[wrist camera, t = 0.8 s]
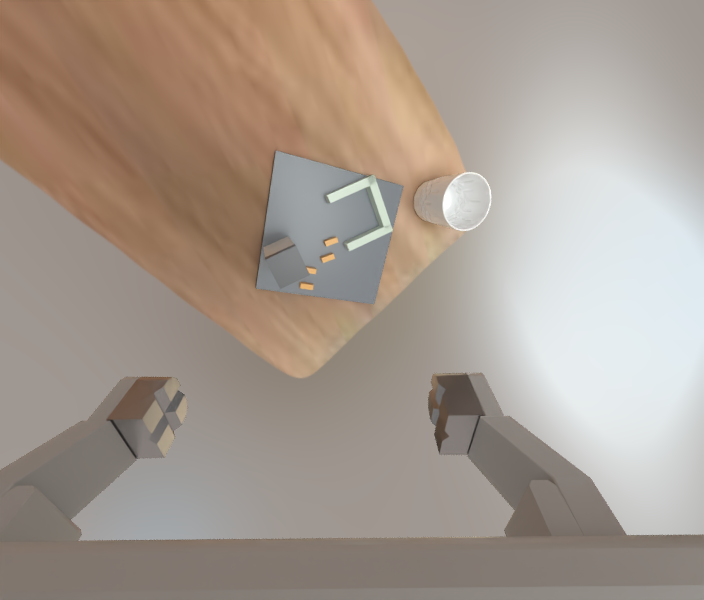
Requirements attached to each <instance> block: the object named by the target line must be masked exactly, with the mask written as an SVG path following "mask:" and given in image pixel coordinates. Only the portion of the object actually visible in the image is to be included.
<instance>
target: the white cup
mask: <svg viewBox="0 0 704 600" xmlns="http://www.w3.org/2000/svg"><path fill="white" fill-rule="evenodd" d="M490 205H491V190H490V186H489V184H488V182H487V181H486V179H485V178H484V177H482V176H481V175H480V174H478V173H475V172H466V173H460V174H454V175H449V176H444V177H440V178H436V179H432V180H429V181H426V182H424V183H423V184H422V185H421V186H420V187H419V188H418V189H417V191H416V194H415V196H414V209H415V211H416V214H417V215H418V216H419V217H420V218H421V219H422V220H424V221H428V222H431V223H433V224H436V225H440V226H443V227H447V228H451V229H455V230H459V231H468V230H471V229H473V228H475V227H477V226H478V225H479V224H480V223H481V222H482V221H483V220H484V219H485V217H486V216H487V214H488V212H489V209H490Z"/></svg>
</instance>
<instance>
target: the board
mask: <svg viewBox="0 0 704 600" xmlns="http://www.w3.org/2000/svg"><path fill="white" fill-rule="evenodd" d="M365 177H367V176H366V175H362V174H358V173H355V172H351V171H348V170H344V169H341V168H337V167H333V166H330V165H326V164H323V163H319V162H315V161H312V160H308V159H305V158H301V157H297V156H294V155H290V154H287V153H283V152H280V151H276V152H275V159H274V165H273V172H272V179H271V186H270V193H269V200H268V207H267V214H266V221H265V228H264V235H263V241H262V248H261V255H260V262H259V269H258V276H257V283H256V289H263V290H271V291H278V292H286V293H293V294H301V295H308V296H316V297H324V298H331V299H339V300H346V301H354V302H362V303H369V304H374V303H375V299H376V295H377V291H378V287H379V283H380V279H381V275H382V271H383V267H384V263H385V259H386V255H387V251H388V247H389V243H390V238H391V234H392V232H390V233H387V234H385V235H383V236H381V237H379V238H377V239H375V240H373V241H370V242H368V243H366V244H364V245H362V246H360V247H358V248H356V249H353V250H351V251H348V250H347V249H346V247H345V245H344V242H345V241H348V240H350V239H352V238H354V237H356V236H358V235H360V234H363V233H365V232H367V231H369V230H371V229H373V228H375V227H378V226H379V223H378V221H377V218H376V215H375V212H374V209H373V206H372V203H371V200H370V198H369V195H368V192H367V189H366V188H364V189H361V190H359V191H357V192H355V193H352V194H350V195H348V196H346V197H343V198H341V199H339V200H337V201H334V202H332V203H327V200H326V198H325V195H326V194H328V193H331V192H333V191H335V190H337V189H340V188H342V187H344V186H346V185H349V184H351V183H353V182H356V181H358V180H360V179H362V178H365ZM376 181H377V184H378V187H379V190H380V193H381V196H382V199H383V202H384V205H385V208H386V211H387V214H388V217H389V220H390V223H391V226H392V229H393V226H394V222H395V218H396V214H397V210H398V206H399V202H400V198H401V194H402V190H403V186H402V185H398V184H394V183H391V182H387V181H384V180H380V179H376ZM287 236H288V237H289V238H290V239H291V241H292V242H293V243H294V244H295V245H296V246H297V249H298V251H299V253H300V255H301V257H302V259H303V261H304V263H305V266H306V268H307V270H308V272H309V274H310V275H309V276H307V277H305V278H303V279H301V280H299V281H296V282H294V283H292V284H290V285H288V286H286V287H284V288H282V289H280V288H279V286H278V284H277V282H276V280H275V278H274V276H273V274H272V272H271V270H270V269H269V267H268V265H267V263H266V261H265V254H264V248H263V247H265V246H267V245H270V244H272V243H274V242H276V241H278V240H281V239H283V238H285V237H287Z"/></svg>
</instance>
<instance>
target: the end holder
mask: <svg viewBox="0 0 704 600" xmlns="http://www.w3.org/2000/svg"><path fill="white" fill-rule="evenodd" d="M364 188H366V189H367V192H368V195H369V198H370V200H371V203H372V206H373V209H374V212H375V215H376V218H377V221H378V223H379V226H378V227H375V228H373V229H371V230H369V231H367V232H365V233H363V234H360V235H358V236H356V237H354V238H352V239H350V240H348V241H345V242H344V245H345V247H346V249H347V250H348V251H351V250H353V249H356V248H358V247H360V246H362V245H364V244H366V243H368V242H370V241H373V240H375V239H377V238H379V237H381V236H383V235H385V234H387V233H390V232H392V231H393V229H392V226H391V223H390V220H389V217H388V214H387V211H386V208H385V205H384V202H383V199H382V196H381V193H380V190H379V187H378V184H377V181H376V178H375V175H369V176H367V177H365V178H362V179H360V180H358V181H356V182H353V183H351V184H349V185H346V186H344V187H342V188H340V189H337V190H335V191H333V192H331V193H328V194H326V195H325V198H326V200H327V203H332V202H334V201H337V200H339V199H341V198H343V197H346V196H348V195H350V194H352V193H355V192H357V191H359V190H361V189H364Z"/></svg>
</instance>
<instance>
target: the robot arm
mask: <svg viewBox="0 0 704 600" xmlns="http://www.w3.org/2000/svg"><path fill="white" fill-rule="evenodd" d="M431 384H432V388H433V389H432V390H431V391H430V392H429V397H428V409H429V415H430V420H431V422H432V423H433V424H434V425H435V426H436V428H435V433H434V436H435V440H436V443H437V447H438V451H439V454H440V455H468V458H469V459H470V460H471V461H472V462H473V463H474V465H475V466H476V467H477V468H478V469H479V470H480V471H481V472H482V474H483V475H484V476H485V477H486V478H487V479H488V480H489V482H490V483H491V484H492V485H493V486H494V487H495V488H496V490H497V491H498V492H499V493H500V494H501V495H502V497H504V499H505V500H506V501H507V502H508V503H509V505H510V506H511V507H512V508H513V509H514V510H515V511H514V513H513V515H512V517H511V519H510V520H509V522H508V524H507V526H506V528H505V530H504V531H505V534H506V537H415V538H414V537H411V538H410V537H407V538H306V539H305V538H303V539H202V540H201V539H200V540H198V539H197V540H104V541H103V540H102V541H101V540H98V541H78V540H79V538H80V537H81V535H82V534H81V529H80V528H79V527H77V526H76V525H75V524H74V523H73V522H72V521H71V519H72V518H73V517H75V516H76V515H77V514H78V513H79V512H80V511H81V510H82V509H83V508H84V507H86V506H87V505H88V504H89V503H90V502H91V501H92V500H93V499H94V498H95V497H97V495H99V494H100V493H101V492H102V491H103V490H104V489H105V488H106V487H107V486H109V485H110V484H111V483H112V482H113V481H114V480H115V479H116V478H117V477H119V476H120V475H121V474H122V473H123V472H124V471H125V470H126V469H127V468H128V467H129V466H131V465H132V464H133V463H134V462H135V461H136V459H140V458H164V457H165V455H166V454H167V452H168V450H169V448H170V446H171V445H172V443H173V441H174V439H175V434H174V430H176V429H177V428H178V427H179V426H181V425H182V423H183V421H184V419H185V417H186V413H187V409H188V405H187V399H186V396H185V395H184V394H183V393H181V392H180V391H178V389H179V387H180V383H179V381H178V379H177V378H174V377H125V378H123V379H122V380H120V381H119V382H118V384H117V385H116V386H115V387H114V388H113V390H112V391H111V392H110V393H109V394H108V396H107V397H106V398H105V399H104V401H103V402H102V403H101V404H100V405H99V407H98V408H97V409H96V410H95V411H94V413H93V414H92V415H91V416H90V417H89V419H88V420H87V421H80V422H79V423H77V424H75V425H74V426H72V427H70V428H69V429H67V430H66V431H64V432H62V433H61V434H59V435H57V436H56V437H54V438H52V439H51V440H49V441H47V442H46V443H44V444H42V445H41V446H39V447H38V448H36V449H34V450H33V451H31V452H29V453H28V454H26V455H24V456H23V457H21V458H19V459H18V460H16V461H14V462H13V463H11V464H9V465H8V466H6V467H4V468H3V469H1V470H0V600H704V535H626V533H625V531H624V530H623V528H622V527H621V525H620V524H619V522H618V520H617V519H616V517H615V516H614V514H613V513H612V511H611V510H610V508H609V506H608V505H607V503H606V501H605V500H604V498H603V497H602V495H601V494H600V492H599V491H598V489H597V487H596V486H595V484H594V483H593V481H592V479H591V478H590V477H588V476H587V475H586V474H584V473H583V472H582V471H581V470H579V469H578V468H576V467H575V466H574V465H572V464H571V463H570V462H569V461H567V460H566V459H565V458H563V457H562V456H561V455H560V454H558V453H557V452H556V451H554V450H553V449H552V448H550V447H549V446H548V445H547V444H545V443H544V442H543V441H541V440H540V439H539V438H537V437H536V436H535V435H534V434H532V433H531V432H530V431H528V430H527V429H526V428H524V427H523V426H522V425H520V424H519V423H518V422H517V421H515V420H514V419H513V418H511V417H510V416H504V414H503V412H502V410H501V408H500V406H499V404H498V402H497V400H496V398H495V396H494V394H493V392H492V390H491V388H490V386H489V384H488V382H487V380H486V378H485V376H484V375H483V374H482V373H442V374H441V373H440V374H433V375H432V379H431Z"/></svg>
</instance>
